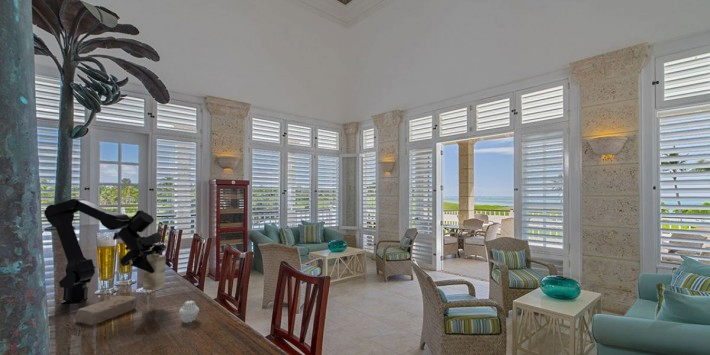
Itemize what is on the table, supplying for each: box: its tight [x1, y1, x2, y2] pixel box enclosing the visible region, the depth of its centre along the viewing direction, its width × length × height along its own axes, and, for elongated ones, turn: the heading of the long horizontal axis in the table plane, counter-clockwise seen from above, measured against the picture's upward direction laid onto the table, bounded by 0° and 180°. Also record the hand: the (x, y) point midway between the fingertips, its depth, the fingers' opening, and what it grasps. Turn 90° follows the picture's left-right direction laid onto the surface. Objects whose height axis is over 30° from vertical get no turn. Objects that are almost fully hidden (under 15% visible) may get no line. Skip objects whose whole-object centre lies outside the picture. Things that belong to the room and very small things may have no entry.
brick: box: [75, 295, 138, 326], centre depth 119 cm, size 17×8×5 cm, turn 165°
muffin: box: [179, 300, 200, 324], centre depth 116 cm, size 6×6×7 cm
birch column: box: [142, 254, 167, 291], centre depth 130 cm, size 5×5×13 cm
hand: (158, 270), depth 130 cm, fingers closed on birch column, 5 cm apart
